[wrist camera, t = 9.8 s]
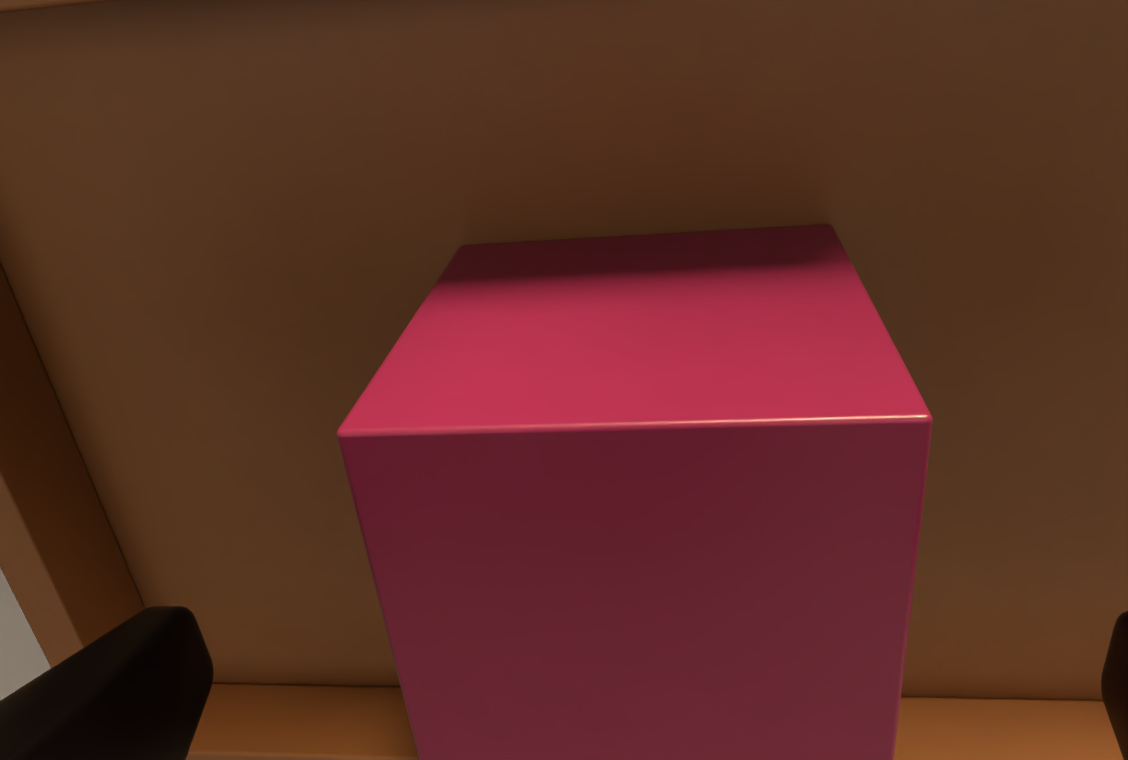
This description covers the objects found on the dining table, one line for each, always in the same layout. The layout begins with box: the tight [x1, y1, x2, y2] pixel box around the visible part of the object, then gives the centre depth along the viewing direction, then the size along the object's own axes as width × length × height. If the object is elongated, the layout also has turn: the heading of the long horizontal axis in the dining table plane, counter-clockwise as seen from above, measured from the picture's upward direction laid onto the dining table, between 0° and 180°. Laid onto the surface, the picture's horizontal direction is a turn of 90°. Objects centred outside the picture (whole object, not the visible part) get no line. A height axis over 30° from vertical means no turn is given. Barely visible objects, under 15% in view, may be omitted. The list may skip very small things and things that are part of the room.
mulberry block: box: [337, 224, 933, 760], centre depth 10 cm, size 5×5×5 cm
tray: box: [0, 0, 1128, 760], centre depth 12 cm, size 21×14×2 cm, turn 96°
